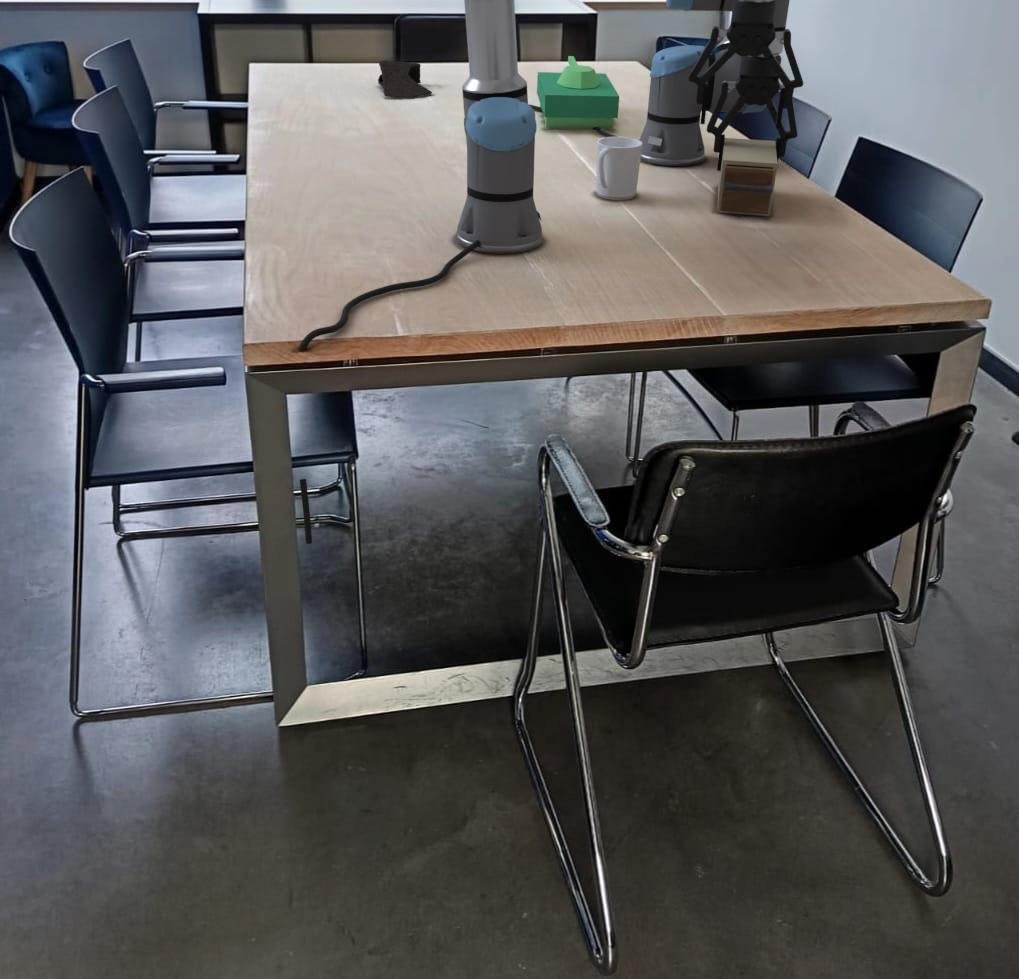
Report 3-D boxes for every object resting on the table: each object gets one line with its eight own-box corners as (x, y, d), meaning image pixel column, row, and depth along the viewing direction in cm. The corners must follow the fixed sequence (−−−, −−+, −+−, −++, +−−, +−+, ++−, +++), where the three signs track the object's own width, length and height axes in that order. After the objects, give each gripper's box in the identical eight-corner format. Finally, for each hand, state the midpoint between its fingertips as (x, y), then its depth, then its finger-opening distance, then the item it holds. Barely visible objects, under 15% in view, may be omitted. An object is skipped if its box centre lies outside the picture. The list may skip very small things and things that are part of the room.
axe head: (443, 87, 294) (392, 77, 287) (436, 115, 299) (385, 106, 292) (421, 62, 307) (371, 52, 300) (414, 89, 311) (365, 80, 304)
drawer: (768, 222, 205) (774, 178, 201) (719, 218, 206) (725, 174, 202) (765, 190, 223) (771, 148, 218) (721, 187, 224) (726, 146, 220)
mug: (610, 185, 226) (613, 134, 221) (646, 193, 222) (651, 142, 216) (579, 196, 219) (581, 144, 214) (615, 205, 214) (619, 152, 209)
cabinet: (769, 216, 211) (777, 163, 206) (716, 212, 213) (723, 159, 207) (767, 191, 226) (775, 141, 220) (718, 187, 227) (724, 137, 222)
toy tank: (603, 52, 288) (620, 79, 258) (599, 101, 294) (616, 133, 265) (536, 51, 287) (546, 78, 257) (534, 99, 294) (543, 131, 264)
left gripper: (827, -2, 191) (808, 123, 202) (683, -7, 194) (672, 116, 206) (830, 4, 185) (810, 133, 196) (682, -2, 188) (670, 125, 199)
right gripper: (821, 53, 210) (803, 169, 221) (702, 47, 213) (690, 162, 224) (824, 60, 203) (805, 179, 215) (701, 54, 206) (688, 171, 218)
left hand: (740, 124), depth 201 cm, fingers open, 13 cm apart
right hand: (746, 170), depth 220 cm, fingers closed on cabinet, 10 cm apart
